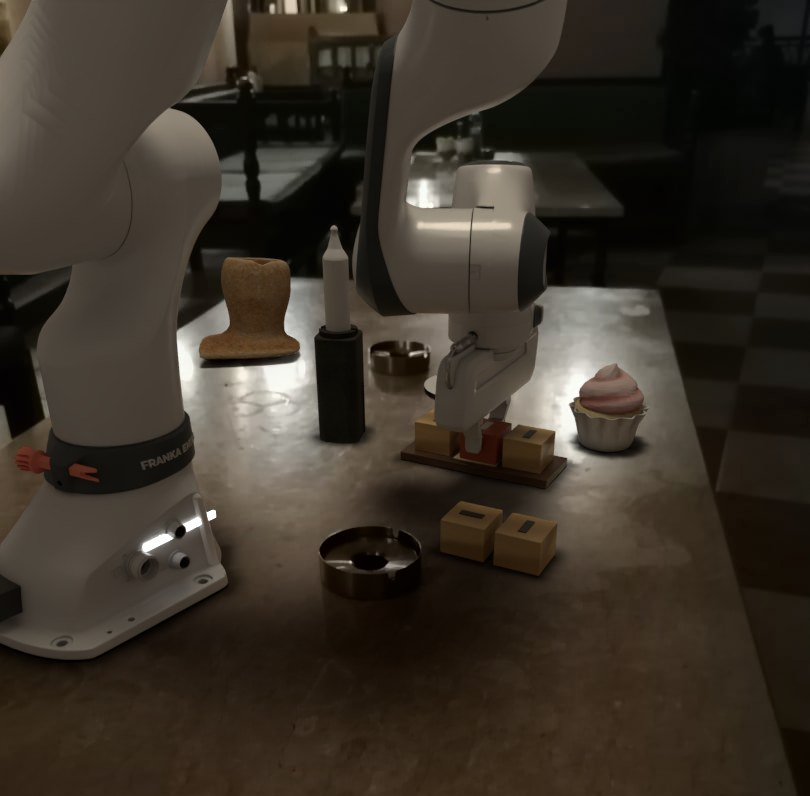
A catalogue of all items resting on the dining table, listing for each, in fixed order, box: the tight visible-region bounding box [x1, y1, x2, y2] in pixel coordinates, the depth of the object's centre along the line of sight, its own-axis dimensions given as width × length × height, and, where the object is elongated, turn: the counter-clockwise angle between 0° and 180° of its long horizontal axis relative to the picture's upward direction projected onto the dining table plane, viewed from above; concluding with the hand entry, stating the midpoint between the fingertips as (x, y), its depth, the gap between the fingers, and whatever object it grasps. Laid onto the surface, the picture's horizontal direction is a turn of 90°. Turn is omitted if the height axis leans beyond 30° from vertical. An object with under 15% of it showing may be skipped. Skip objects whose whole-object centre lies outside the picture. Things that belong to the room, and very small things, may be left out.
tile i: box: [439, 500, 504, 563], centre depth 87 cm, size 4×4×4 cm
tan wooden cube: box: [493, 512, 559, 577], centre depth 84 cm, size 4×4×4 cm
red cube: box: [460, 417, 513, 465], centre depth 104 cm, size 4×4×4 cm
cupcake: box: [568, 362, 650, 453], centre depth 108 cm, size 9×9×10 cm
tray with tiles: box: [400, 408, 568, 490], centre depth 104 cm, size 7×18×5 cm, turn 62°
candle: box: [313, 225, 366, 444], centre depth 107 cm, size 5×5×25 cm
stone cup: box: [198, 257, 301, 360], centre depth 139 cm, size 15×12×15 cm
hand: (485, 441), depth 104 cm, fingers closed on red cube, 4 cm apart
